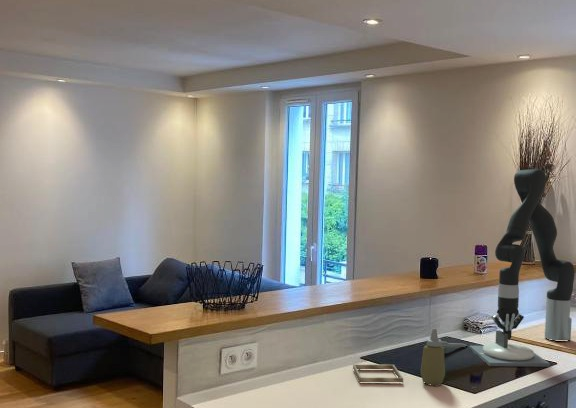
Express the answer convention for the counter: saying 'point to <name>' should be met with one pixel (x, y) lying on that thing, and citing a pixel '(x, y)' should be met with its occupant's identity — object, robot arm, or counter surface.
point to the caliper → (451, 345)
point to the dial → (507, 349)
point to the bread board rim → (377, 379)
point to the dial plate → (494, 361)
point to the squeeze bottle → (433, 361)
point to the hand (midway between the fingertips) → (506, 339)
